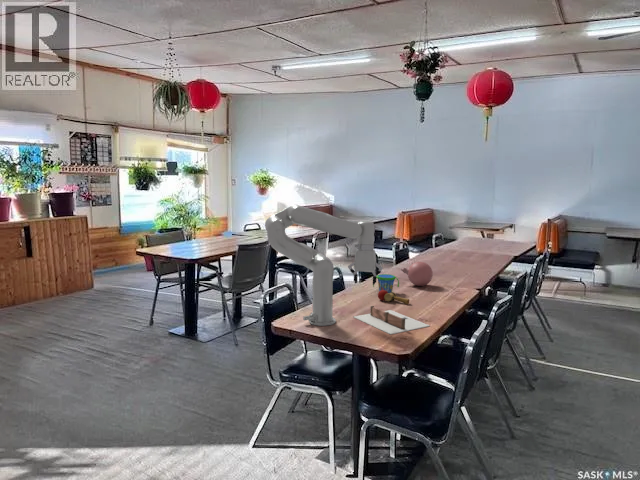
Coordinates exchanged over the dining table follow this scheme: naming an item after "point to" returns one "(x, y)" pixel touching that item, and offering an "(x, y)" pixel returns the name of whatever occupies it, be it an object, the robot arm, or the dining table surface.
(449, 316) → the dining table surface
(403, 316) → the card
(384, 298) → the kendama
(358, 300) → the dining table surface
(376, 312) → the swing panel
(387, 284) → the snack cup
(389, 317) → the base
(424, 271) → the balloon
